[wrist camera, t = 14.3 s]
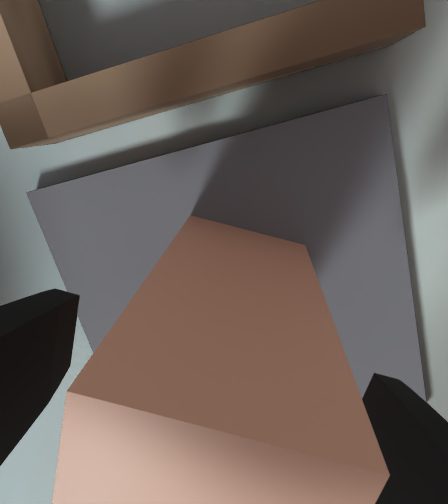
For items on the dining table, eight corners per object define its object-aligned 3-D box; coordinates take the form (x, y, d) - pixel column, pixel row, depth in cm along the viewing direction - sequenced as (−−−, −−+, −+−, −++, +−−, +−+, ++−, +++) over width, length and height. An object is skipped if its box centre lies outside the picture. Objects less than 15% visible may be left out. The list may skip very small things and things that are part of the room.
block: (190, 215, 13) (67, 391, 5) (305, 244, 13) (390, 475, 5) (167, 316, 14) (39, 596, 6) (271, 344, 14) (290, 663, 6)
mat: (35, 189, 14) (25, 192, 13) (380, 95, 12) (386, 94, 11) (142, 449, 17) (138, 460, 17) (422, 408, 16) (428, 418, 15)
